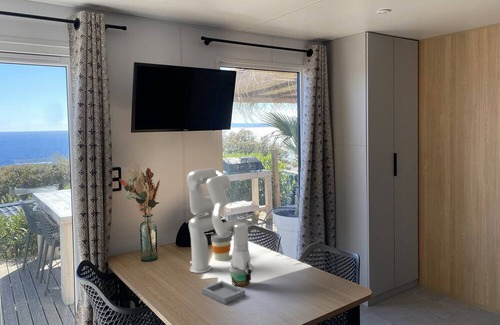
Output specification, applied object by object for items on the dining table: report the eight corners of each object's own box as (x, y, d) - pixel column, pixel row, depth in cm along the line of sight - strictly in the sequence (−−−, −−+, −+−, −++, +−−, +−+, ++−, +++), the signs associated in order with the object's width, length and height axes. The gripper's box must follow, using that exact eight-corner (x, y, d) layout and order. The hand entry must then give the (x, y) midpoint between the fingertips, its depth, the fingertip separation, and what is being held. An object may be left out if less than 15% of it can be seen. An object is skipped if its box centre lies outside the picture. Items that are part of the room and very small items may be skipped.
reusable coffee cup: (209, 257, 262) (208, 234, 261) (227, 254, 267) (226, 231, 266) (215, 263, 251) (214, 239, 249) (234, 259, 256) (233, 236, 255)
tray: (202, 293, 206) (201, 288, 206) (222, 286, 215) (222, 280, 214) (224, 304, 193) (224, 298, 192) (245, 296, 202) (244, 290, 201)
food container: (232, 289, 210) (231, 270, 209) (229, 285, 216) (229, 266, 215) (255, 286, 214) (254, 267, 213) (251, 281, 220) (251, 263, 219)
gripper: (225, 245, 217) (226, 276, 218) (246, 252, 204) (248, 285, 206) (235, 242, 222) (236, 272, 223) (257, 248, 209) (258, 280, 211)
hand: (242, 278), depth 215 cm, fingers open, 9 cm apart
